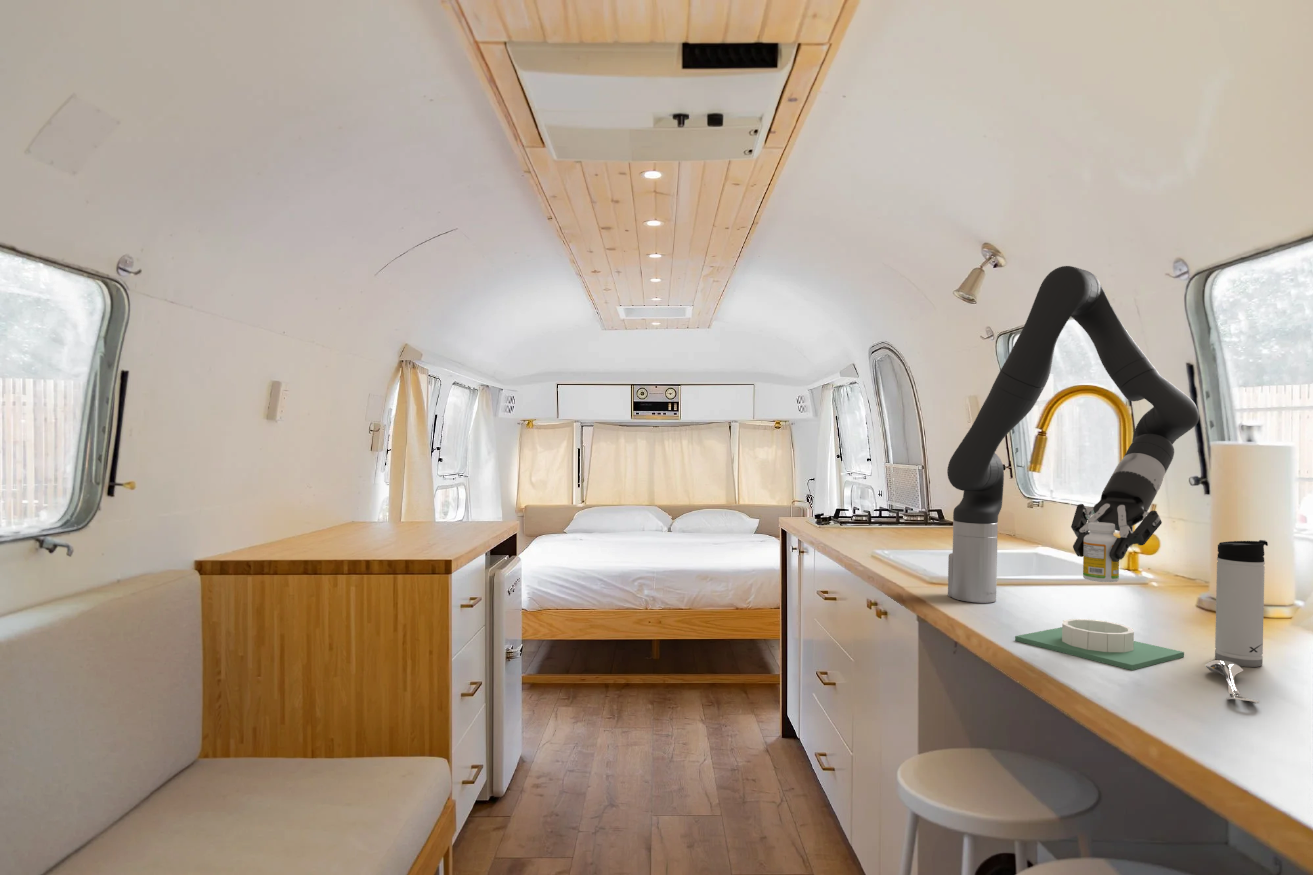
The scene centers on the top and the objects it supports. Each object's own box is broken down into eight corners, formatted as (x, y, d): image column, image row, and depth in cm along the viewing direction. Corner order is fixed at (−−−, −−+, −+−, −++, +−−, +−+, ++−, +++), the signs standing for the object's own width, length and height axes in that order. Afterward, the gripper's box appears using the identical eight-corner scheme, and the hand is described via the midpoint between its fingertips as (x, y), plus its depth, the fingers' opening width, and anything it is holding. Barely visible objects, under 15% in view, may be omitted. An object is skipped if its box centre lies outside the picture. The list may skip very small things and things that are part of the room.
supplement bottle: (1109, 577, 139) (1110, 521, 139) (1124, 583, 133) (1126, 525, 133) (1077, 576, 139) (1078, 521, 139) (1091, 582, 134) (1092, 524, 134)
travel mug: (1267, 670, 125) (1270, 543, 125) (1216, 663, 128) (1218, 539, 128) (1262, 660, 130) (1265, 539, 130) (1213, 654, 134) (1216, 535, 133)
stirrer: (1269, 686, 104) (1225, 680, 106) (1268, 714, 104) (1225, 707, 106) (1239, 659, 122) (1202, 654, 124) (1239, 682, 122) (1202, 677, 124)
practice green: (1015, 640, 140) (1015, 619, 140) (1067, 630, 149) (1067, 610, 149) (1132, 670, 123) (1132, 645, 123) (1184, 656, 132) (1184, 633, 132)
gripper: (1085, 467, 146) (1046, 536, 140) (1170, 471, 134) (1131, 547, 128) (1101, 495, 149) (1063, 564, 143) (1185, 502, 137) (1147, 577, 130)
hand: (1095, 555), depth 135 cm, fingers closed on supplement bottle, 5 cm apart
